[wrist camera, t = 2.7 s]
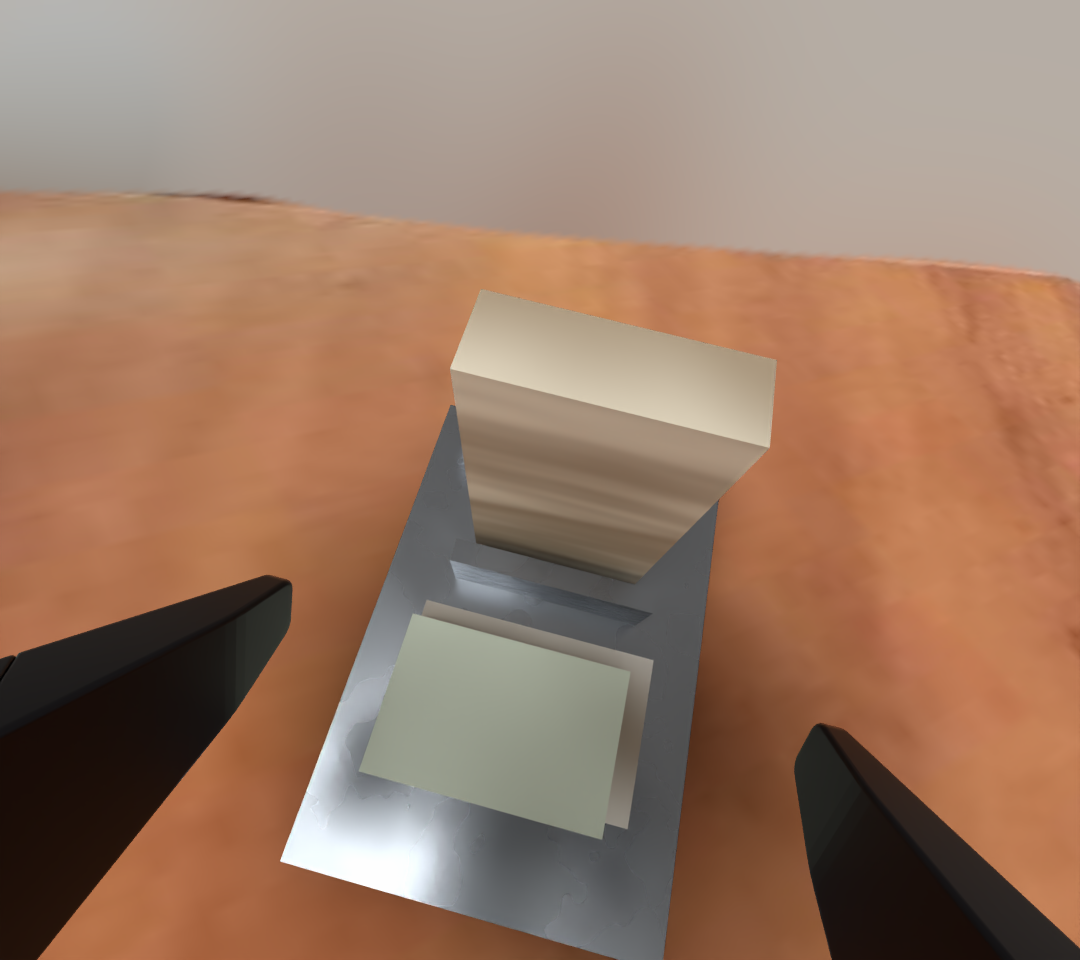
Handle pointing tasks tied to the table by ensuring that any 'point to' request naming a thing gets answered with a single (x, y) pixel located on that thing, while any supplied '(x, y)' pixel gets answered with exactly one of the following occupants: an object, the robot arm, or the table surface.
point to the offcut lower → (636, 665)
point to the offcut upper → (500, 725)
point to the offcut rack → (490, 835)
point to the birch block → (599, 433)
